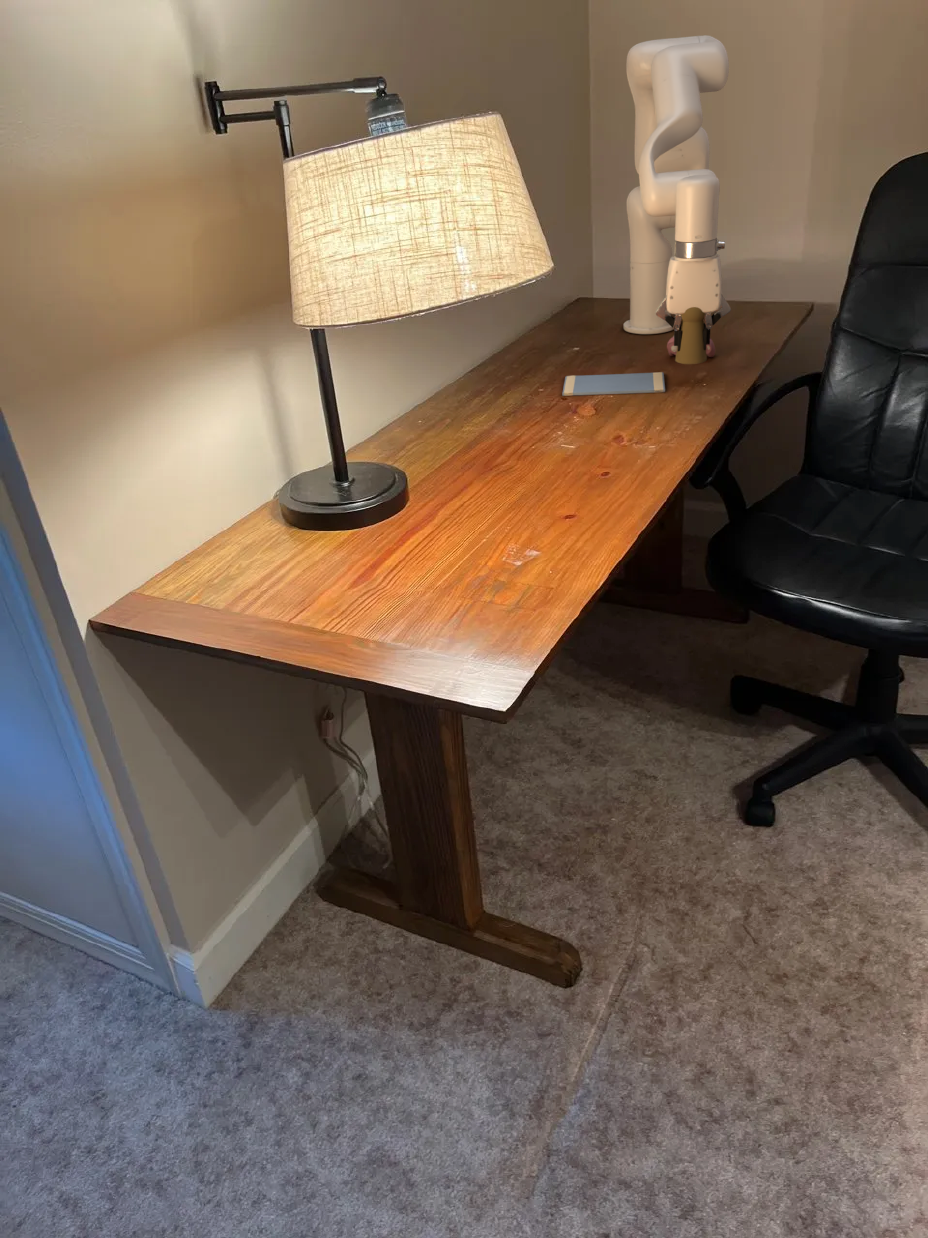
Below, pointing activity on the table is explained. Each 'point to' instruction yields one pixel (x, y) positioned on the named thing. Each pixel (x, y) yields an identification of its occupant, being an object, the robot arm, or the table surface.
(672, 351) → the video game controller
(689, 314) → the olive tall tapered piece
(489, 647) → the table surface
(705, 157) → the robot arm
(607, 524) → the table surface
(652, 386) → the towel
